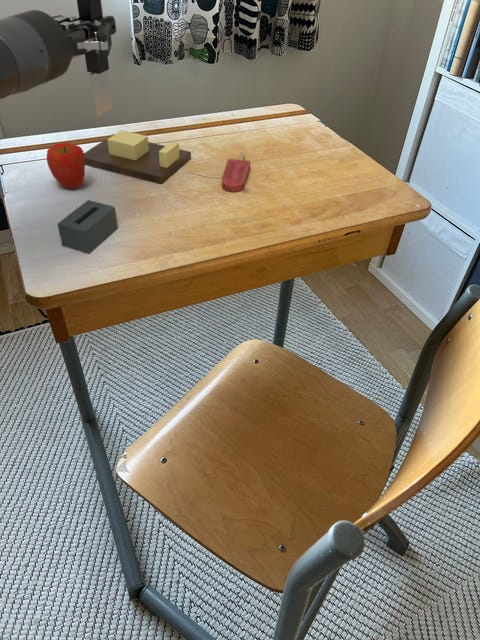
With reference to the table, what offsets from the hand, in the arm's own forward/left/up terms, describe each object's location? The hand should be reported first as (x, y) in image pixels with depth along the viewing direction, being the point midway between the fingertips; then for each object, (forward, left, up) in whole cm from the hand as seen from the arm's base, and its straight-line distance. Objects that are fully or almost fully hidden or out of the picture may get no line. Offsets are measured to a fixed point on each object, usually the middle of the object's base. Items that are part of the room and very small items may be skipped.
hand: (104, 22), depth 72 cm
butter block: (-12, +10, -26) cm, 30 cm away
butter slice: (-3, +13, -26) cm, 29 cm away
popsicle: (+7, +22, -28) cm, 36 cm away
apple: (-10, -4, -28) cm, 30 cm away
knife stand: (+6, -11, -28) cm, 30 cm away
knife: (+1, -3, -11) cm, 12 cm away
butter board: (-10, +11, -28) cm, 31 cm away
